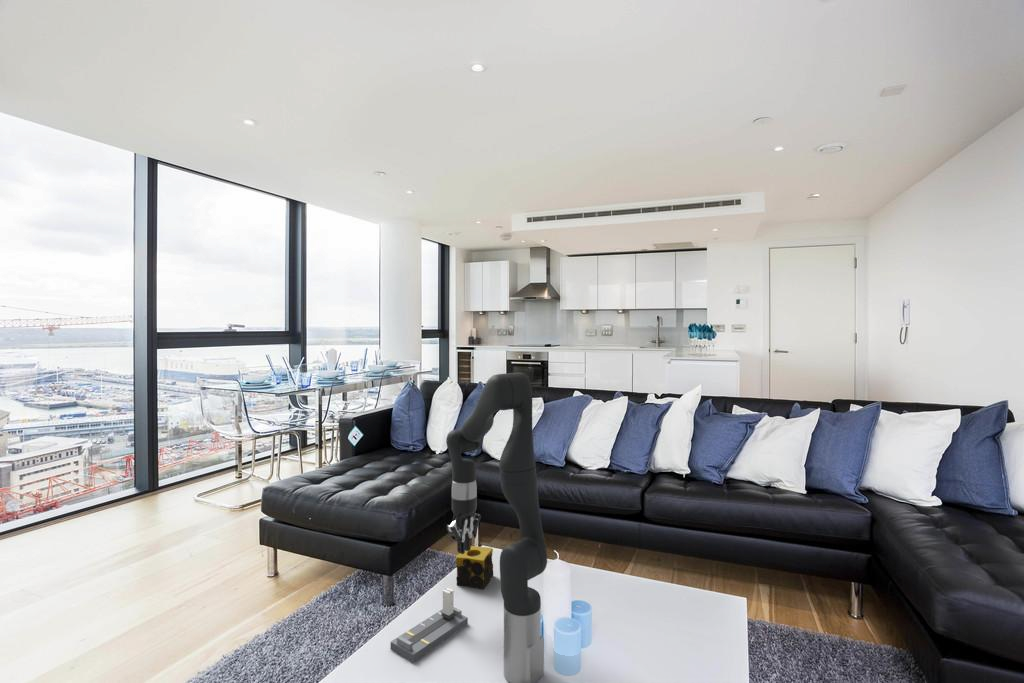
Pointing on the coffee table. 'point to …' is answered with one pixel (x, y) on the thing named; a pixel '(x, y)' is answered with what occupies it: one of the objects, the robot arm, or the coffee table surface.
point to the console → (428, 635)
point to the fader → (448, 603)
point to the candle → (475, 567)
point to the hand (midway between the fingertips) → (464, 551)
